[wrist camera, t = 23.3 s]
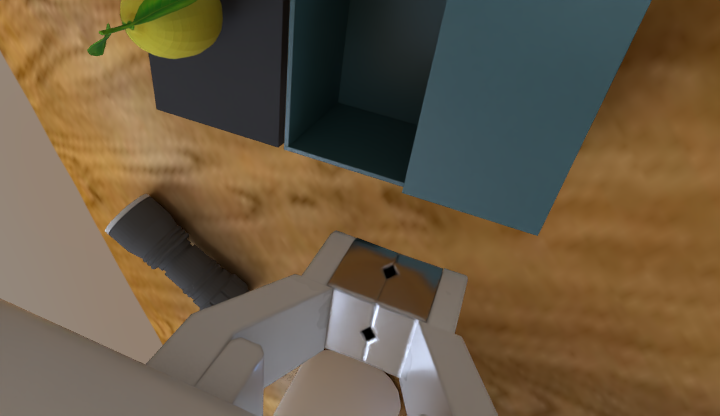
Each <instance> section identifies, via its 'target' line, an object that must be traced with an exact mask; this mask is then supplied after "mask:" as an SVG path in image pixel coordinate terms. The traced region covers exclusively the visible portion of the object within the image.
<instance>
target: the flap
mask: <svg viewBox="0 0 720 416" xmlns="http://www.w3.org/2000/svg"><path fill="white" fill-rule="evenodd" d="M651 1H652V0H447V2H446V6H445V10H444V15H443V19H442V23H441V28H440V32H439V36H438V41H437V45H436V49H435V54H434V58H433V62H432V66H431V71H430V75H429V79H428V84H427V88H426V92H425V97H424V101H423V105H422V109H421V114H420V118H419V122H418V127H417V131H416V135H415V140H414V144H413V148H412V152H411V157H410V161H409V165H408V170H407V174H406V178H405V183H404V187H403V191H402V193H405V194H408V195H411V196H414V197H417V198H420V199H423V200H427V201H430V202H433V203H436V204H439V205H442V206H445V207H449V208H452V209H455V210H458V211H461V212H464V213H467V214H471V215H474V216H477V217H480V218H483V219H486V220H489V221H493V222H496V223H499V224H502V225H505V226H508V227H511V228H515V229H518V230H521V231H524V232H527V233H530V234H533V235H537V236H538V234H539V232H540V230H541V228H542V226H543V224H544V222H545V220H546V218H547V216H548V214H549V212H550V209H551V207H552V205H553V203H554V201H555V199H556V197H557V195H558V193H559V191H560V189H561V187H562V185H563V183H564V181H565V178H566V176H567V174H568V172H569V170H570V168H571V166H572V164H573V162H574V160H575V158H576V156H577V154H578V152H579V149H580V147H581V145H582V143H583V141H584V139H585V137H586V135H587V133H588V131H589V129H590V127H591V125H592V123H593V121H594V118H595V116H596V114H597V112H598V110H599V108H600V106H601V104H602V102H603V100H604V98H605V96H606V94H607V92H608V89H609V87H610V85H611V83H612V81H613V79H614V77H615V75H616V73H617V71H618V69H619V67H620V65H621V63H622V61H623V58H624V56H625V54H626V52H627V50H628V48H629V46H630V44H631V42H632V40H633V38H634V36H635V34H636V32H637V29H638V27H639V25H640V23H641V21H642V19H643V17H644V15H645V13H646V11H647V9H648V7H649V5H650V3H651Z"/></svg>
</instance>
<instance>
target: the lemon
mask: <svg viewBox="0 0 720 416" xmlns="http://www.w3.org/2000/svg"><path fill="white" fill-rule="evenodd" d="M120 17H121V21H122V24H123V25H121V26H118V27H115V28H110V25H109V23H108V24H107V27H106V30H102V31H99V34H101V35H105V37H104V38H103V39H101V40H100V41H98V42H96V43H94V44H93V45H91V46H90V47H89V49H88V50H87V51H88V53H89V54H90V55H93V56H100V55H103V53H104V49H105V45H106V40H107V39H108V38H109V36H110V35H111V33H114V32H118V31H121V30H124V29H125V31H126V33H127V34H128V36H129V37H130V39H131V40H132V41H133V42H134V43H136V44H137V45H138V46H139V47H140V48H141V49H143V50H145V51H147V52H149V53H151V54H153V55H156V56H159V57H164V58H169V59H178V58H184V57H190V56H194V55H197V54H200V53H201V52H203V51H204V50H206V49H207V48H209V47H210V46H211V45H213V43H214V42H215V41H216V39H217V37H218V36H219V34H220V32H221V29H222V22H223V15H222V5H221V2H220V0H121V3H120Z"/></svg>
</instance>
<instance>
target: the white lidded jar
mask: <svg viewBox="0 0 720 416" xmlns="http://www.w3.org/2000/svg"><path fill="white" fill-rule="evenodd" d="M400 409H401V405H400V398H399V392H398V390H397V388H396V386H395V385H394V383H393V381H392V380H391V379H390V378H389V377H388V376H387V375H386V374H385V373H384V372H383V371H382V370H380V369H377V368H375V367H373V366H370V365H368V364H366V363H364V362H361V361H359V360H356V359H353V358H351V357H348V356H345V355H343V354H340V353H337V352H335V351H332V350H323V351H322V352H320V353H318V354H317V355H315V356H314V357H312V358H311V359H309V360H307V361H306V362H304V363H303V364H302V365H301V366H300V368H299V370H298V372H297V373H296V375H295V377H294V379H293V381H292V382H291V384H290V386H289V388H288V390H287V391H286V393H285V395H284V397H283V398H282V400H281V402H280V404H279V406H278V407H277V409H276V411H275V413H274V415H273V416H398V415H399V412H400Z"/></svg>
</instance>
